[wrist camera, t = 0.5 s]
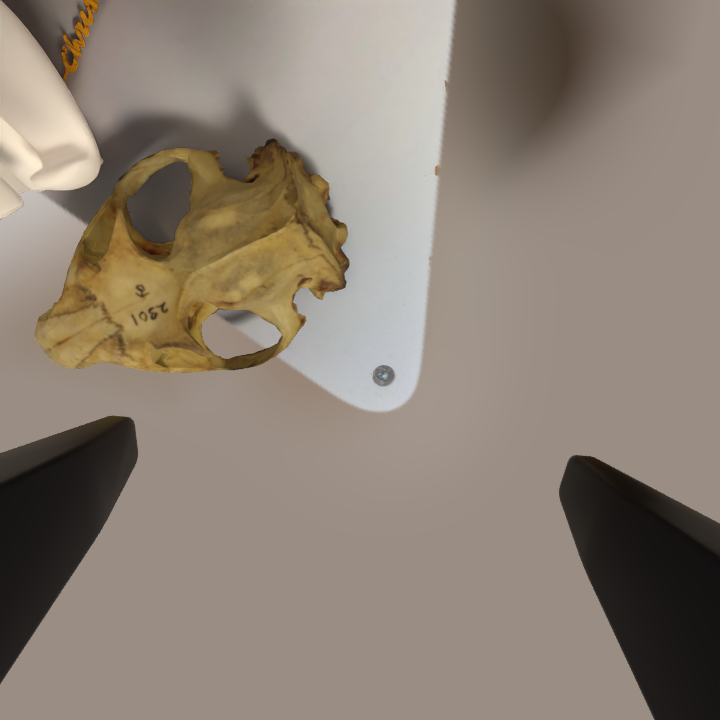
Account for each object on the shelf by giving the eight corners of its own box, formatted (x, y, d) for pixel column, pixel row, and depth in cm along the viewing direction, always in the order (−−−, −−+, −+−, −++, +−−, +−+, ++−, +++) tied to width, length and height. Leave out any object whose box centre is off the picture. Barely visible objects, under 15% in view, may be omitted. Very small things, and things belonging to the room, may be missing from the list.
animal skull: (91, 308, 26) (-18, 341, 20) (232, 80, 20) (142, 25, 14) (223, 421, 27) (159, 485, 21) (390, 234, 21) (372, 246, 15)
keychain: (75, 107, 20) (55, 99, 19) (58, 95, 20) (38, 86, 19) (140, -75, 17) (122, -95, 17) (121, -89, 18) (101, -109, 17)
